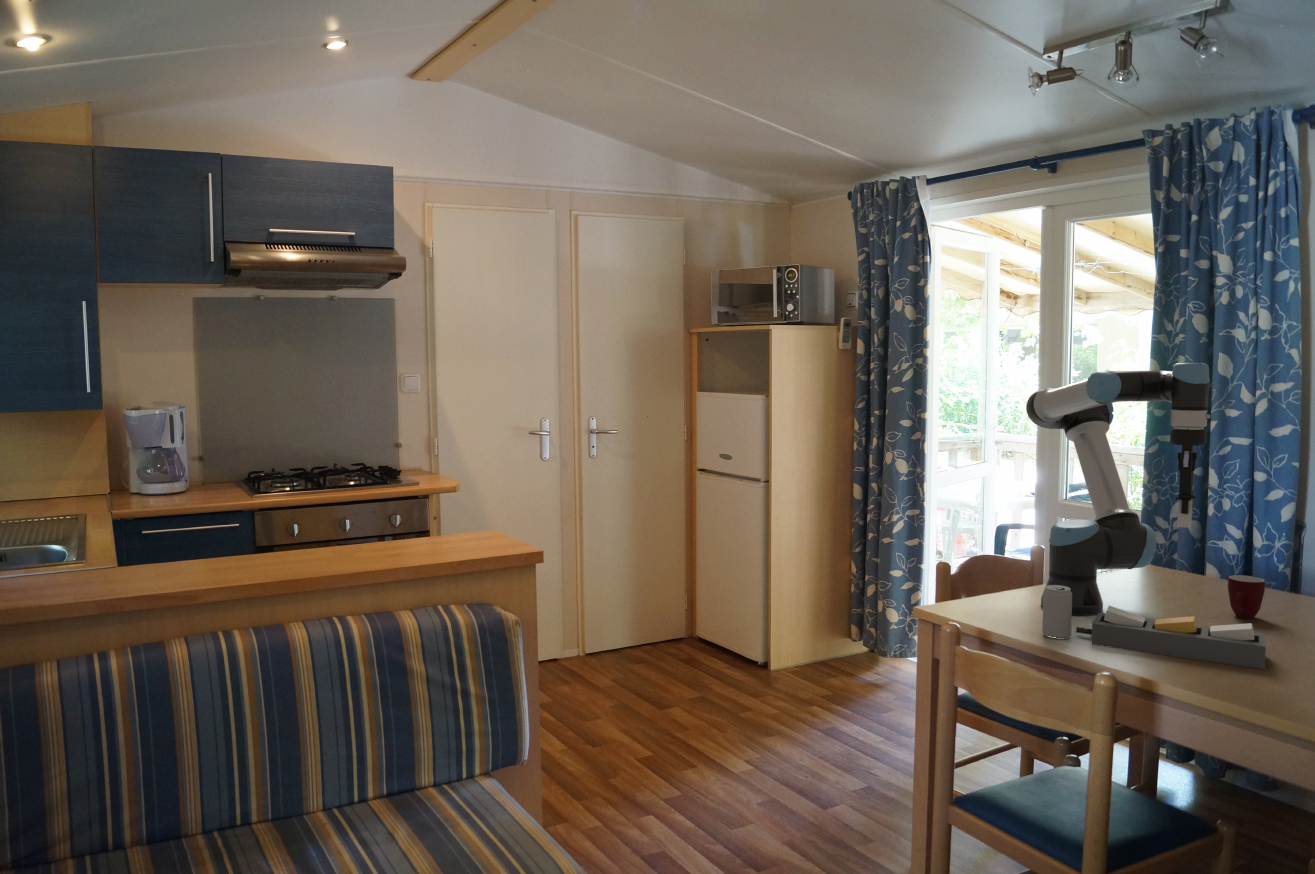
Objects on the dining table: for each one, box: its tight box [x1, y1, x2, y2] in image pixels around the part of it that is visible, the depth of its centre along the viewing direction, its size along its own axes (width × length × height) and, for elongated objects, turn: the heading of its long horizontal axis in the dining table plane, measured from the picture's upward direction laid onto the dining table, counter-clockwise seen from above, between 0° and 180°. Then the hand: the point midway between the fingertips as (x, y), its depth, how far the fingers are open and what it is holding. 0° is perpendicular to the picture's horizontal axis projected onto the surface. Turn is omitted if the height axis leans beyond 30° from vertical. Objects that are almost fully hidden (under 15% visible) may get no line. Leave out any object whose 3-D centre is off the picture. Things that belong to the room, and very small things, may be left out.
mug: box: [1227, 574, 1266, 620], centre depth 240 cm, size 11×8×10 cm
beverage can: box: [1041, 585, 1073, 639], centre depth 224 cm, size 6×6×12 cm
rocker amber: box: [1154, 615, 1198, 633], centre depth 214 cm, size 8×5×2 cm, turn 58°
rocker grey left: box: [1104, 605, 1146, 627], centre depth 219 cm, size 8×5×2 cm, turn 58°
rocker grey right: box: [1210, 622, 1255, 640], centre depth 208 cm, size 8×5×2 cm, turn 58°
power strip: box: [1075, 612, 1267, 670], centre depth 215 cm, size 38×11×5 cm, turn 58°
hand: (1184, 526), depth 224 cm, fingers closed
